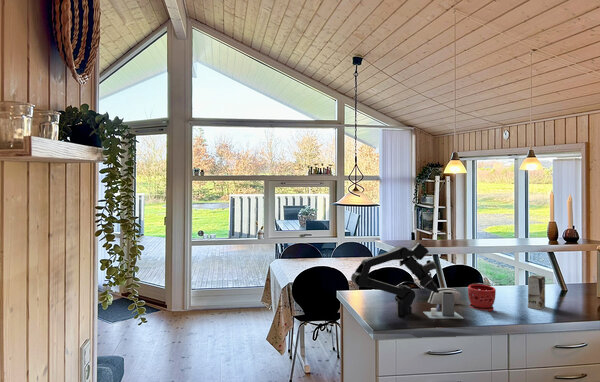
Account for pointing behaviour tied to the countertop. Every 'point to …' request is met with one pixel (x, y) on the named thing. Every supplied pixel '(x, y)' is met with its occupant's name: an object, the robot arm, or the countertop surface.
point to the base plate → (440, 314)
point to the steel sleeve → (448, 304)
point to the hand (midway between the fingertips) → (437, 290)
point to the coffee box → (536, 292)
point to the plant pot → (481, 297)
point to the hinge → (437, 297)
